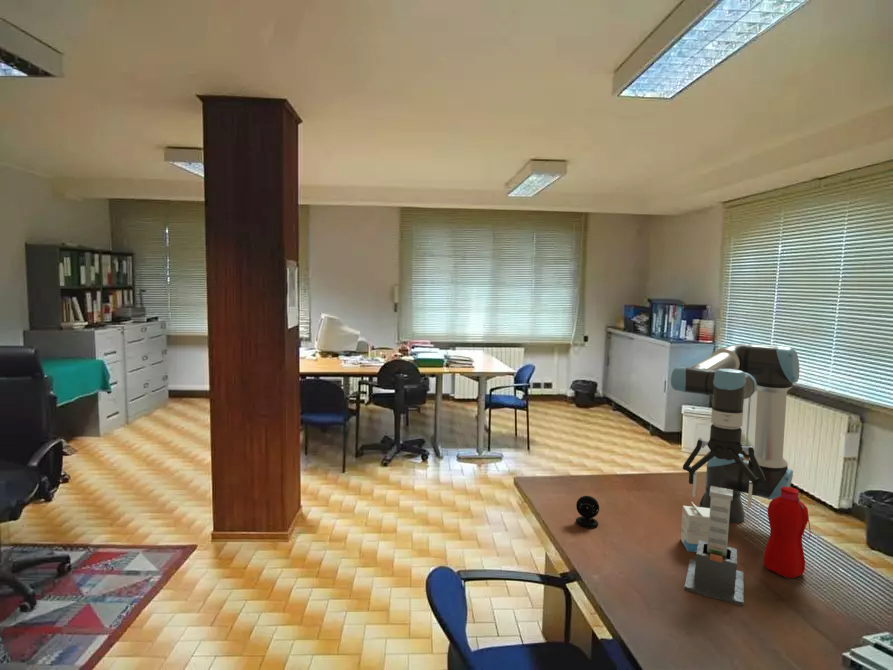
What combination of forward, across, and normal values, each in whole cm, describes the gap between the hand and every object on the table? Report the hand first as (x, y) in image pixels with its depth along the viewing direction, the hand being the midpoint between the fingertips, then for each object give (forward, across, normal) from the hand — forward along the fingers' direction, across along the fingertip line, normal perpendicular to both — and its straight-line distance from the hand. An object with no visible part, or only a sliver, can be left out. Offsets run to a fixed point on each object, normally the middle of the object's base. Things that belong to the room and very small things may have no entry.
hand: (721, 500), depth 146 cm
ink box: (+24, -6, +21) cm, 32 cm away
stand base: (+23, 0, -1) cm, 23 cm away
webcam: (+24, -41, +18) cm, 50 cm away
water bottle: (+24, +18, +17) cm, 35 cm away
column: (+16, 0, -1) cm, 16 cm away
